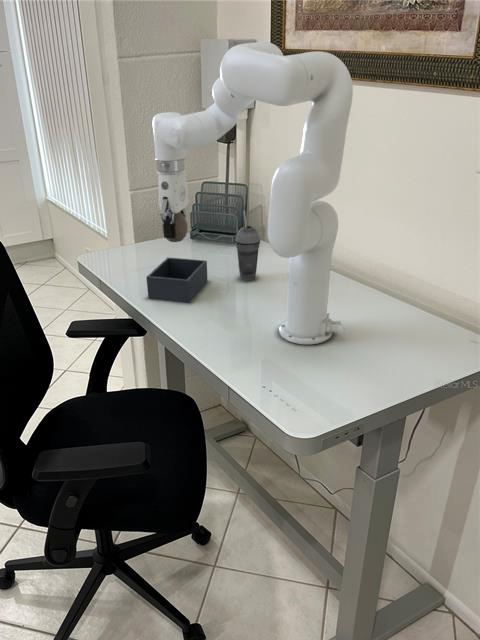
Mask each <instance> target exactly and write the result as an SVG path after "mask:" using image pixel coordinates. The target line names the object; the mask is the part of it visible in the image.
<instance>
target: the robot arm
mask: <svg viewBox="0 0 480 640" xmlns="http://www.w3.org/2000/svg"><path fill="white" fill-rule="evenodd" d="M219 74H220V76H219V77H218V78H217V79H216V80H215V81H214V83H213V84H212V88H211V89H212V90H211V91H212V98H213V101H214V102H213V103H212V104H211V105H210V106H209V107H207V109H205V110H201V111H197V112H192V113H188V114H184V115H182V114H181V113H179V112H176V111H175V112H174V111H167V112H166V111H165V112H160V113H157V114H155V115H154V116H153V118H152V129H153V141H154V154H155V155H154V156H155V167H156V168H155V169H156V174H158V204H159V210H160V211H159V216H160V218H161V224H162V223H163V230H164V234H163V238H164V239H166V238H172V239H174V238H176V233H175V223H173V222H174V213H176V214H177V213H179V212H181V213H182V214H183V215H184V217H185V218H186V213H187V212H186V207H187V206H189V203H190V201H189V200H190V198H189V187H188V180H187V174H186V171H187V169H186V152H185V151H187V150H190V149H194V148H197V147H201V146H205V145H208V144H212V143H214V142H216V141H218V140H219V139H220V138H222V137H223V136H224V135H226V134H227V132H228V133H229V131H231V130H232V129H233V128H234V127H235V126H236V125H237V123H238V121H239V119H240V118H241V113H242V112H243V111H244V110H245V109H247V108H248V107H249V106H250V105H251V104H253V103H254V102H255V101H259V102H262V103H266V104H269V105H273V106H277V107H278V106H279V107H289V106H293V105H297V104H302V103H306V102H311V106H310V107H311V108H310V110H309V113H308V114H307V117H306V119H305V122H304V126H303V131H302V141H301V148H300V151H299V154H298V155H297V156H293V157H290V158H289V159H286V160H284V161H283V162H282V163H280V165H278V167H277V169H276V171H275V172H274V175H273V178H272V182H271V187H270V197H269V208H268V220H267V239H268V243H269V245H270V247H271V249H272V251H273V252H274V253H275V254H276V255H277V256H279V257H282V258H286V259H288V272H287V291H286V292H287V293H286V295H287V297H286V317H285V319H286V320H285V321H284V322H282V323H281V324H280V326H279V335H280V336H281V338H283V339H285V340H286V341H288V342H290V343H294V344H298V345H316V344H322V343H324V342H326V341H328V340H329V339H331V337H332V335H333V332H335V333H339V334H344V333H345V329H346V324H342V321H341V320H336V319H335V320H334V319H333V320H332V318H330V313H329V312H328V306H329V304H328V303H329V291H330V278H331V270H332V260H333V252H334V249H335V248H334V247H335V244H336V239H337V236H338V232H339V231H338V230H339V217H338V215H337V210H336V209H335V208H334V207H333V205H331V204H330V203H329V202H327V201H324V200H320V199H323V198H324V197H327V196H328V195H331V193H333V192H334V191H335V190H336V189H337V187H338V185H339V181H340V177H341V172H342V171H341V170H342V166H343V165H342V164H343V158H344V152H345V151H344V150H345V145H346V138H347V129H348V123H349V119H350V114H351V108H352V103H353V96H354V95H353V94H354V91H353V90H354V88H353V87H354V86H353V79H352V77H351V74H350V72H349V69H348V67H347V65H345V63H344V62H343V60H341V59H340V58H338V57H337V56H336V55H334V54H332V53H330V52H326V51H319V50H318V51H307V52H301V53H296V54H289V55H284V54H283V52H282V50H281V49H280V47H278V45H276V44H274V43H272V42H269V41H256V42H248V43H247V42H246V43H241V44H240V43H239V44H236V45H234V46H232V47H230V48H229V49H228V50H227V51H226V52H225V54H224V55H223V57H222V59H221V62H220V67H219ZM168 210H171V211H168ZM167 214H171V217H169V216H167Z"/></svg>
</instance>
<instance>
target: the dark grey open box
mask: <svg viewBox="0 0 480 640" xmlns="http://www.w3.org/2000/svg"><path fill="white" fill-rule="evenodd" d="M145 277H146V286H147V297H148V299H149V300H156V301H167V302H175V303H185V304H191V303H192V301H193V300H194V299H195V298H196V296H197V295H198V294H199V293H200V292H201V290H203V288H204V287H205V286H206V285H207V284H208V282H209V281H208V279H209V278H208V260H204V259H203V260H202V259H190V258H179V257H166V258H165V259H164V260H163V261H162V262H160V264H159V265H157V266H156V267H155V268H154V269H152V271H150V273H149V274H148V275H147V276H145Z"/></svg>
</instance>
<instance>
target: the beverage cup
mask: <svg viewBox="0 0 480 640" xmlns="http://www.w3.org/2000/svg"><path fill="white" fill-rule="evenodd" d="M242 211H243V221H244V226H243V227H241V228H240V229H239V230H238V231H237V233H236V236H235V241H234V242H235V247H236V251H237V261H238V262H237V263H238V273H239V279H240V281H242V282H252V281H255V280H256V276H257V269H258V268H257V267H258V259H259V250H260V244H261V235H260V232H259V231H258V229H256V228H255V227H254V226H251V225H247V216H246V210H245V209H244V210H242Z"/></svg>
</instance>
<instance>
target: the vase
mask: <svg viewBox="0 0 480 640" xmlns="http://www.w3.org/2000/svg"><path fill="white" fill-rule="evenodd" d="M167 211H171V210H167ZM184 215H185V214H184ZM184 215H183V214H182V213H181V212H179V213H177V214H176V213H174V222H173V223H175V233H176V238H174V239H172V238H165V239H166V240H167V241H168V242H170V243H179V242H182V241H183V240H184V239H185V238H186V237H187V233H188V222H187V219H186V216H185V217H184ZM167 216H169V217H171V214H167ZM161 231H162V234H163V235H164V230H163V223H162V222H161Z"/></svg>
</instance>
